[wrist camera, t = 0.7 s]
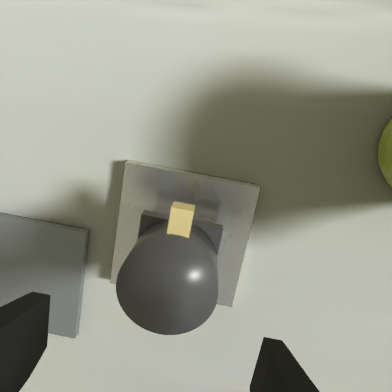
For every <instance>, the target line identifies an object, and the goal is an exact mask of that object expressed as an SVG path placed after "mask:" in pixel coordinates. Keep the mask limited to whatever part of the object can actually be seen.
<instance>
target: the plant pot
mask: <svg viewBox="0 0 392 392" xmlns="http://www.w3.org/2000/svg"><path fill="white" fill-rule="evenodd" d="M378 164H379V167H380V170H381V172H382V174H383V176H384V178H385V179H386V181H387V182H388V184H389V185H390V186H391V188H392V118H391V119H390V121H389V122H388V124H387V125H386V127H385V129H384V131H383V133H382V136H381V138H380V142H379V147H378Z"/></svg>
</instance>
